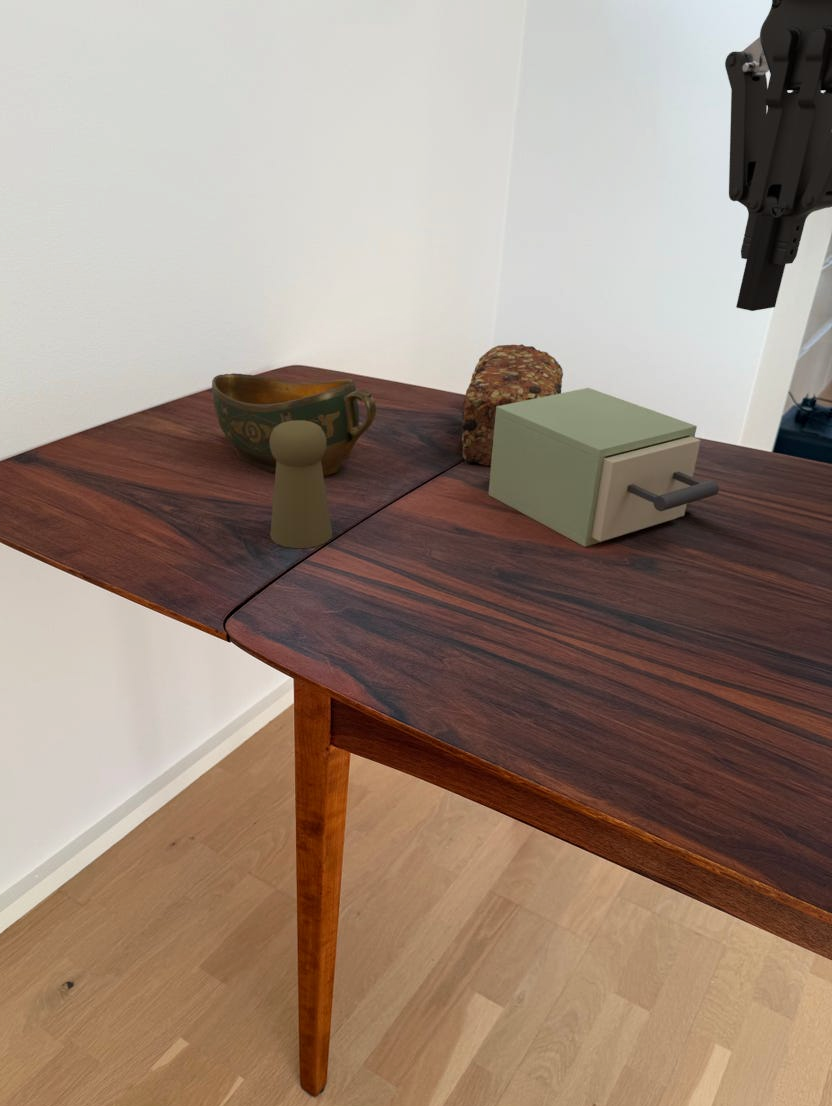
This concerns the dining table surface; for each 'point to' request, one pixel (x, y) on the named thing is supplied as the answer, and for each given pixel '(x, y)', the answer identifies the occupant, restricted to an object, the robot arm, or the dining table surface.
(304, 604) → the dining table surface
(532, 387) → the bread
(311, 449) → the olive pawn
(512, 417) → the cabinet
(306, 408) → the gravy boat
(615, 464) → the drawer
